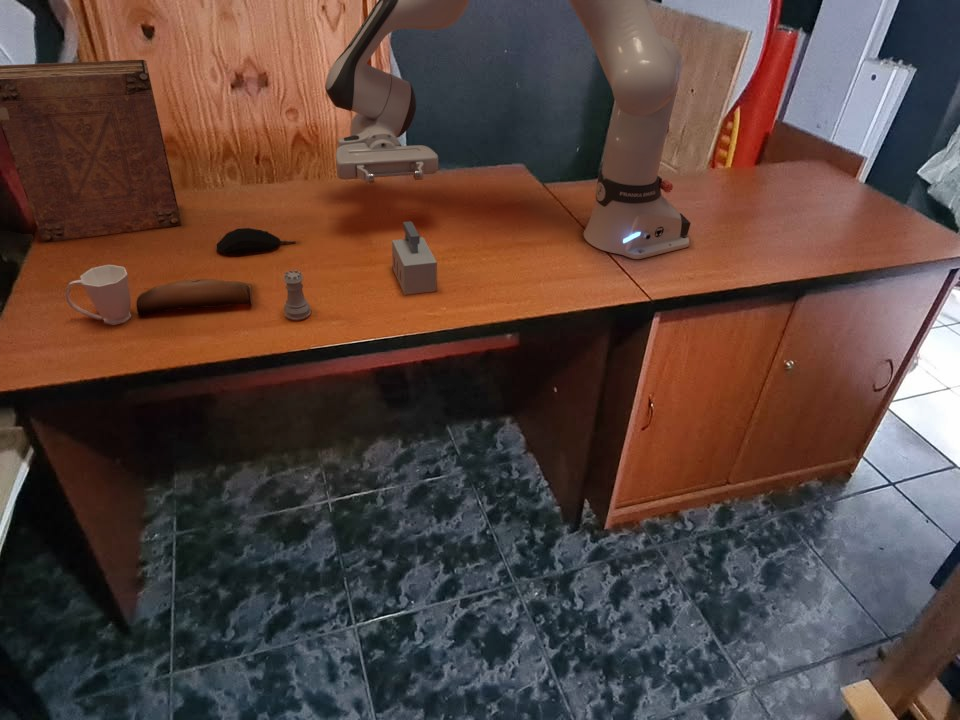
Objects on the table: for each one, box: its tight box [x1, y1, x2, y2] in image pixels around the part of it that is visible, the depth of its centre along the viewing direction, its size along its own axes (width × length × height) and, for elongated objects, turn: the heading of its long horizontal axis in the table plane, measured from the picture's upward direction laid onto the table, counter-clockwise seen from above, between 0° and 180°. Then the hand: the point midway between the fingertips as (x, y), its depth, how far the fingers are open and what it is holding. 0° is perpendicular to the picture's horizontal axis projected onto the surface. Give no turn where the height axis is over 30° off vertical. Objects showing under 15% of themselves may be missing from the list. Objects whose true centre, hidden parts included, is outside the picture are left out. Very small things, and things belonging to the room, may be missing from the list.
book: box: [0, 59, 182, 243], centre depth 131 cm, size 25×9×30 cm, turn 113°
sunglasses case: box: [136, 278, 253, 316], centre depth 117 cm, size 18×7×7 cm
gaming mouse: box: [216, 227, 297, 257], centre depth 134 cm, size 6×15×4 cm, turn 109°
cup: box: [65, 264, 132, 326], centre depth 111 cm, size 7×10×8 cm
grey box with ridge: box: [391, 221, 438, 296], centre depth 126 cm, size 10×6×9 cm, turn 18°
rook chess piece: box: [282, 269, 312, 321], centre depth 115 cm, size 4×4×8 cm
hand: (395, 177), depth 131 cm, fingers open, 8 cm apart
